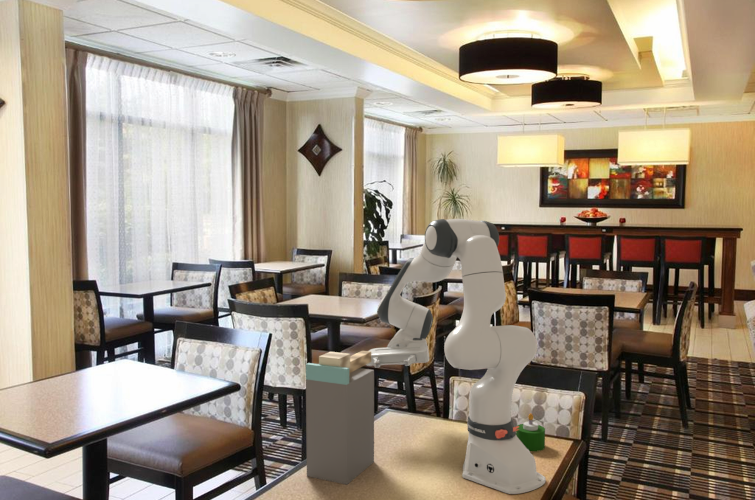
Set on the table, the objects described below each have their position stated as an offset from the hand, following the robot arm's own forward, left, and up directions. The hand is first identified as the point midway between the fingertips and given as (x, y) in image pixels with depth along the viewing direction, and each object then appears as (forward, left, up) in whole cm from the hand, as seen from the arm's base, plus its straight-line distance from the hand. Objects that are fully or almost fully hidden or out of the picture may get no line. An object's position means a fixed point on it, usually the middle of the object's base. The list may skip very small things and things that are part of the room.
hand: (391, 364), depth 194 cm
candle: (-27, -31, -24) cm, 48 cm away
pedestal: (-8, +23, -24) cm, 34 cm away
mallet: (-6, +19, +2) cm, 20 cm away
